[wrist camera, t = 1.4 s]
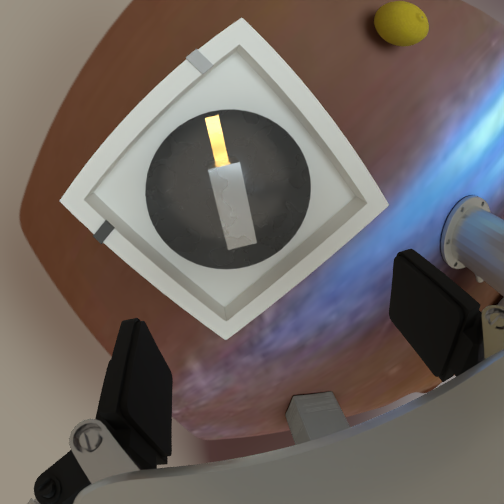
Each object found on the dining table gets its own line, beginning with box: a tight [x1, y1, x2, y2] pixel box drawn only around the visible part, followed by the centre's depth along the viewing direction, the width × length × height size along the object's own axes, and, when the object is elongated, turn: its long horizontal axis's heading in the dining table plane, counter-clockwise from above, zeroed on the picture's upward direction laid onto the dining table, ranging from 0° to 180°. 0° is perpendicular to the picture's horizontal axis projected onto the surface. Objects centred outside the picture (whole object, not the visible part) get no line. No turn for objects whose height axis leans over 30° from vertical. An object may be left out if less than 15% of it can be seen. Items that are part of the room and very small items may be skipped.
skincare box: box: [286, 392, 350, 445], centre depth 43 cm, size 8×7×16 cm
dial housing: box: [60, 18, 389, 340], centre depth 29 cm, size 24×24×5 cm
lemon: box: [374, 1, 429, 46], centre depth 21 cm, size 6×6×8 cm
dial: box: [145, 109, 311, 269], centre depth 26 cm, size 16×16×6 cm
